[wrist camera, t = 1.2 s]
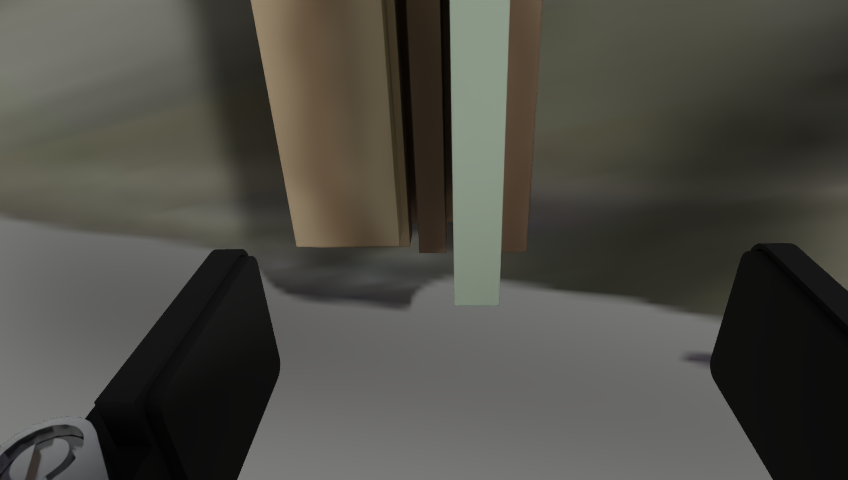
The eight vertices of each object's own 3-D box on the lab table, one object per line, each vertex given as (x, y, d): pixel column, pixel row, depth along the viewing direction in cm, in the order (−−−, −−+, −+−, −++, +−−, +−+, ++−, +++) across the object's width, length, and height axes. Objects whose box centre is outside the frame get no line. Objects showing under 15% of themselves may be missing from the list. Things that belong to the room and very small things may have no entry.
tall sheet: (492, -99, 26) (514, -125, 16) (486, 194, 34) (499, 305, 24) (451, -97, 26) (447, -121, 16) (455, 194, 34) (454, 305, 24)
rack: (548, -149, 26) (573, -173, 20) (526, 212, 36) (539, 264, 30) (272, -132, 27) (222, -152, 21) (324, 215, 37) (300, 265, 31)
